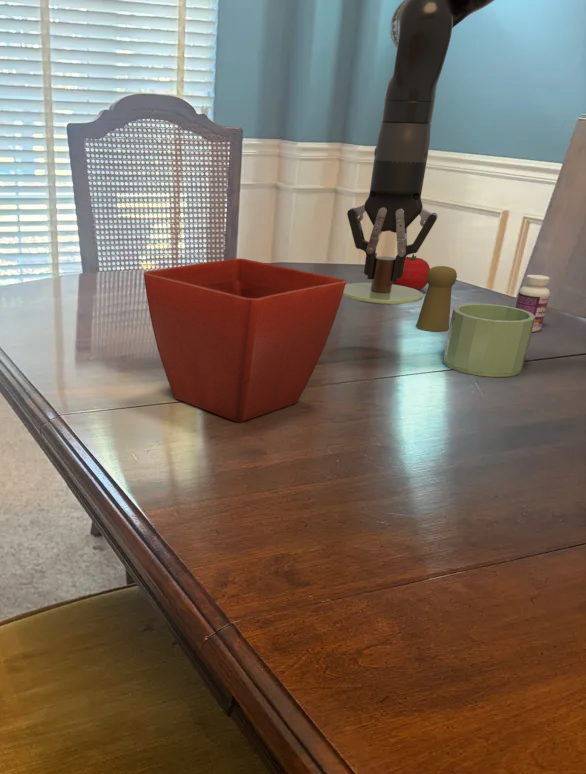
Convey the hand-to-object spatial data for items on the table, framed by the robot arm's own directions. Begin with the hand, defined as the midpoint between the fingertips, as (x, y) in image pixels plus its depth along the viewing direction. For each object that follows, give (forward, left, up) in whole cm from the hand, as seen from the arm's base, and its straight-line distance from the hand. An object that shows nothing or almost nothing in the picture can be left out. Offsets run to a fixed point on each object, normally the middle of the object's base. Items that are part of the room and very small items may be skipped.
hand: (382, 279), depth 121 cm
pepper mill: (-25, -7, -13) cm, 29 cm away
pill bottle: (-40, +3, -13) cm, 42 cm away
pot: (-12, +13, -12) cm, 22 cm away
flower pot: (+33, +5, -13) cm, 36 cm away
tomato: (-47, -31, -13) cm, 58 cm away
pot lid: (0, 0, -2) cm, 2 cm away
